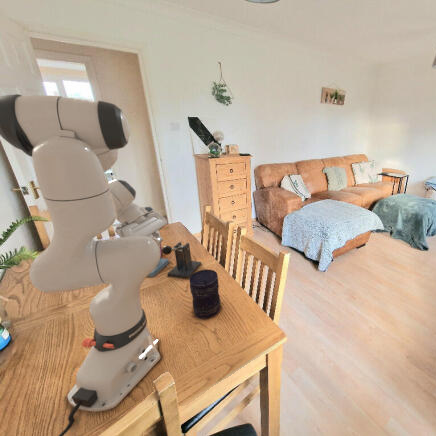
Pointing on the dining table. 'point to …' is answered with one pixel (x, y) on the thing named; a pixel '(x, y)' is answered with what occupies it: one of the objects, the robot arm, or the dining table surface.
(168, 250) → the power lever
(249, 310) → the dining table surface
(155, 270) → the panel
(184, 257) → the switch bracket
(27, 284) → the dining table surface
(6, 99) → the robot arm
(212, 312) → the storage jar
